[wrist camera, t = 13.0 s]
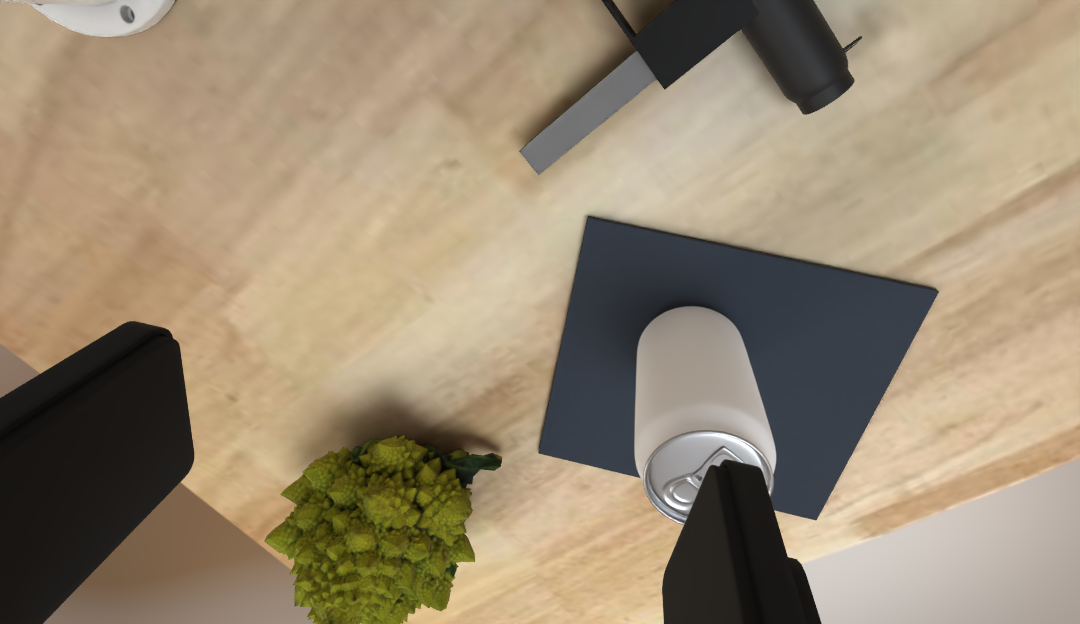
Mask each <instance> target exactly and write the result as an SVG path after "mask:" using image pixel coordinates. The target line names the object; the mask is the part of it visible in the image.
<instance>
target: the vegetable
mask: <svg viewBox="0 0 1080 624" xmlns="http://www.w3.org/2000/svg"><path fill="white" fill-rule="evenodd" d="M501 463H502V457H501V456H498V455H496V454H494V453H490V454H487V455H484V456H481V455H474V454H472V455H469V453H468V452H465V451H462V450H457V451H455V452H452V453H450V454H447V455H445V454H443V453H441V452H440V451H438V450H436V449H434V448H432V447H431V446H429V445H428V446H424V447H421V446H419V445H416V444H415V440H411V441H408V439H405V436H404V435H403V436H401V437H399V438H397V437H396V435H395V436H394V437H393V438H387V439H384V440H382V441H381V440H371V439H370V440H369V441H368V442H367V443H365V444H364V445H363V446H357V447H355V448H354V449H353V450H352V451H349V450H348V449H347V448H344V447H343V448H342V449H341V450H340V452H339V453H334V452H333V451H332V452H329V453H328V454H327V455H325V456H324V457H322V458H320V459H317V460H315V461H314V462H313V463H311V464H310V465H309V467H308V468H307V469H306V470H304V471H303V473H304V474H303V476H302V477H300V478H299V479H298V480H297V481H295V482H294V483H293V484H291V485H290V486H288V487H287V488H286V489H285V490H284V491H283V492H282V493H281V494H280V495H282V496H284V497H286V498H287V499H289V500H291V501H292V502H294V503H296V504H297V507H295V508H294V512H291V514H290V516H289V517H287V518H285V522H283V523H282V524H280V525H279V526H278V527H276V528H275V529H274V530H273V531H272V532H271V533H270V534H268V535H267V537H266V539H265V542H266V543H267V544H268V545H270V546H271V547H272V548H274V549H275V550H276V551H278V552H279V553H283V554H286V555H287V556H288V560H290V559H292V558H294V562H295V564H294V566H293V568H292V571H291V573H290V574H298V576H297V578H296V579H297V580H296V581H295V582H294V584H293V585H296V586H295V606H297V605H300V604H301V605H300V607H312V609H311V611H310V613H309V614H308V616H307V617H309V619H314V622H313V623H314V624H360V623H361V624H400V623H403V621H406V622H407V616H408V613H411V614H414V613H415V608H419V609H420V608H421V603H422V604H423V605H425V606H426V607H428V608H430V607H432V608H434V609H436V610H439V611H442V610H444V609H446V607H447V604H448V601H449V597H450V592H451V590H450V588H451V587H453V585H452V583H451V581H452V580H453V579H454V578H455V577H454V575H455V572H456V570H457V569H456V568H457V567H458V566H457V564H456V562H475V555H474V551H473V549H472V547H471V544H470V542H469V540H468V537H467V536H466V535H465V534H464V533H466V529H465V526H464V522H465V519H467V518H469V516H470V514H471V513H472V511H473V510H472V508H471V502H470V500H469V498H470V496H471V494H472V493H471V492H470V490H471V489H469V488H466V486H467V484H472V481H473V476H474V475H475V474H476V473H478V471H479V470H480V469H483V470H496V469H498V468H499V467H501Z"/></svg>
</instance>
